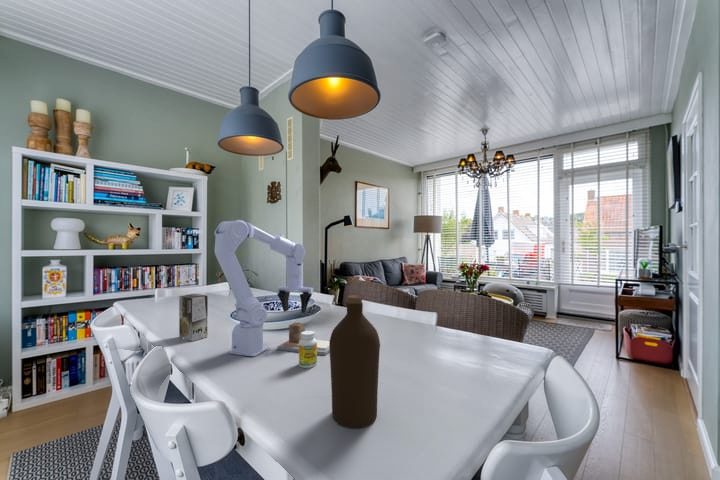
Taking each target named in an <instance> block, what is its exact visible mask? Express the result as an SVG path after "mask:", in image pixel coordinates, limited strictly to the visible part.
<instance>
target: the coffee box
mask: <svg viewBox="0 0 720 480" xmlns="http://www.w3.org/2000/svg"><path fill="white" fill-rule="evenodd" d="M178 299H179V301H178V302H179V304H178V306H179V308H178V311H179V313H178V316H179V319H178V321H179V323H178V325H179V328H178V329H179V330H178V331H179V333H178V335H179V337H181V338H180V339H182V338H184V339H183V340H186V339H187V340H186V341H189V340H190V342H195V341H198V339H199V340H202V339H201V338H203V339H206V338H205V337H207V338H208V315H209V314H208V307H209V306H208V305H209V304H208V301H209V300H208V299H209V296H208V294H207V295H206V294H198V293H191V294H185V295H179V296H178ZM179 337H178V338H179ZM194 340H195V341H194Z"/></svg>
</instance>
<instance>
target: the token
mask: <svg viewBox="0 0 720 480" xmlns="http://www.w3.org/2000/svg"><path fill="white" fill-rule="evenodd" d="M305 325H306V324H305V323H303V322H293V323H291V324H289V325H288V340H289V343H298V344H299V341H300V340H301V339H302V338H301V333H302V332H304V331H306V329H305Z"/></svg>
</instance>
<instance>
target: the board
mask: <svg viewBox="0 0 720 480" xmlns="http://www.w3.org/2000/svg"><path fill="white" fill-rule="evenodd" d="M316 340H317V356H318V355H319V356H327V355H329V354H330V347H329V343H330V340H323V339H316ZM276 347H277V348H276V349H277V350H279V351H280V350H281V351H287V352H293V353H294V352H295V353H299V344H298V343H289V339H288V340H286V341H285V342H283V343H281V344H279V345H278V346H276Z"/></svg>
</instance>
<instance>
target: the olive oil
mask: <svg viewBox="0 0 720 480" xmlns="http://www.w3.org/2000/svg"><path fill="white" fill-rule="evenodd" d="M346 299H347V302H346V315H345V316H344V317H343V318H342V319H341V320H340V321H339V322H338V324H337V325H336V326H335V327H333V329H332V332H331V334H330V338H329V341H330V343H329V347H330V352H329V362H330V366H329V367H330V378H331V379H330V385H331V386H330V387H331V415H332V419H333V421H334V422H335V423H336V424H337V425H339V426H340V427H341V426H342V427H344V428H347V429H348V428H350V429H361V428H365V427H368V426H370V425H371V424H373V422H375V421H376V419H377V416H378V394H379V393H378V391H379V367H380V353H381V352H380V351H381V350H380V348H381V341H380V336H379V333H378V331H377V329H376V328H375V326H374V325H373V324H372V323H371V322H370V320H369V319H368V318H366V316H365V315H364V314H363V311H364V310H363V309H364V307H363V305H364V303H363V296H361V295H357V294H356V295H354V294H352V295H347V297H346Z"/></svg>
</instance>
